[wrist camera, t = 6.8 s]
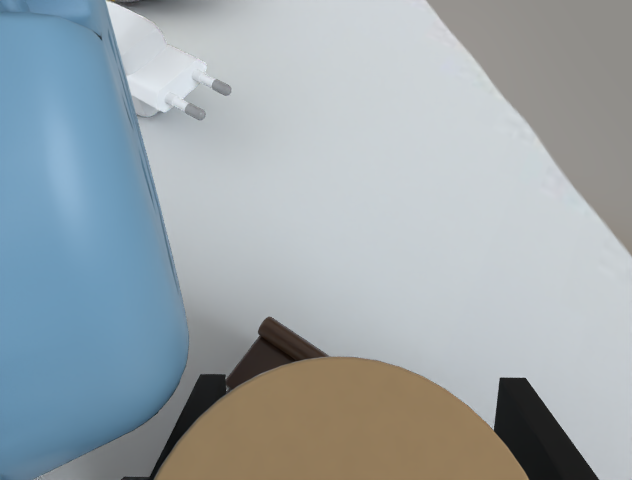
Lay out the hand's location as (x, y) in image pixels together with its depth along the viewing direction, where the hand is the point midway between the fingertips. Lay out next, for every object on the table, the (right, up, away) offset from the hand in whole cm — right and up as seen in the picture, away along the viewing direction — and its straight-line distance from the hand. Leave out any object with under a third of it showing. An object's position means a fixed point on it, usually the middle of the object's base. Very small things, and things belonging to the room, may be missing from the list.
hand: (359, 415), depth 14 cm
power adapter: (-12, +15, +20) cm, 27 cm away
